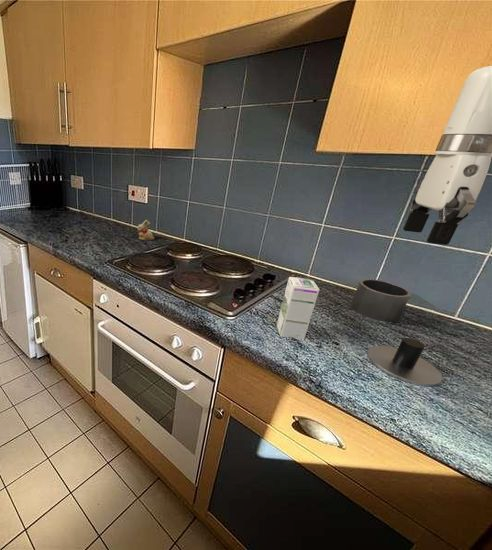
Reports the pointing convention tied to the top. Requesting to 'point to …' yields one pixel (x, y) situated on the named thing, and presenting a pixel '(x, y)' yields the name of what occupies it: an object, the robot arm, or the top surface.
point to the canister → (380, 300)
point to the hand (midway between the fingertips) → (423, 237)
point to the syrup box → (297, 307)
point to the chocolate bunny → (145, 231)
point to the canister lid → (405, 363)
